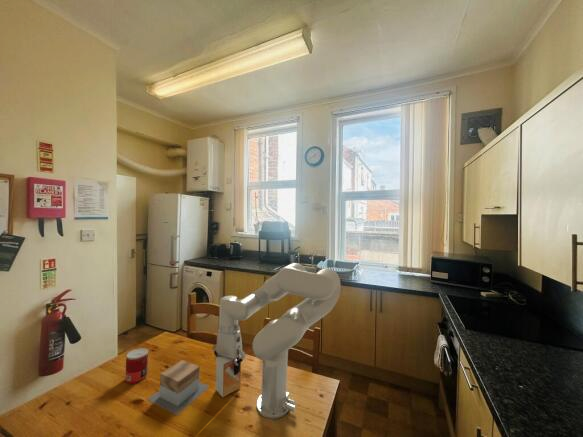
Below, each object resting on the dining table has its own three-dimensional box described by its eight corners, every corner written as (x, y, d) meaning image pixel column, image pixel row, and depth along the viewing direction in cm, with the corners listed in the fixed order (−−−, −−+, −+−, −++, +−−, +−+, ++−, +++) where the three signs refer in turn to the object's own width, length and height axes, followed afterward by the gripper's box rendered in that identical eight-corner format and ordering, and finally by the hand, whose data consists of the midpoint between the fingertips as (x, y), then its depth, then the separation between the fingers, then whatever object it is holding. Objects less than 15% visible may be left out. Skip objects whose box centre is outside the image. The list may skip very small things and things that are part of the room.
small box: (222, 398, 90) (223, 364, 91) (215, 389, 95) (215, 357, 95) (241, 388, 96) (241, 356, 96) (233, 380, 101) (233, 349, 101)
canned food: (145, 382, 99) (146, 356, 99) (122, 386, 96) (123, 359, 96) (148, 371, 106) (149, 346, 106) (127, 374, 103) (128, 349, 103)
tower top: (199, 377, 95) (199, 366, 95) (178, 393, 86) (178, 381, 86) (181, 370, 100) (182, 359, 100) (159, 385, 91) (160, 373, 91)
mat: (209, 387, 97) (209, 386, 97) (176, 416, 82) (176, 415, 82) (182, 376, 104) (182, 374, 104) (146, 400, 89) (146, 399, 89)
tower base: (198, 388, 95) (199, 377, 95) (177, 406, 86) (178, 393, 86) (181, 381, 100) (181, 370, 100) (159, 396, 90) (159, 385, 91)
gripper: (251, 327, 96) (251, 371, 95) (218, 320, 103) (218, 360, 103) (240, 335, 89) (240, 382, 89) (206, 326, 96) (205, 370, 96)
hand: (228, 370), depth 96 cm, fingers closed on small box, 8 cm apart
